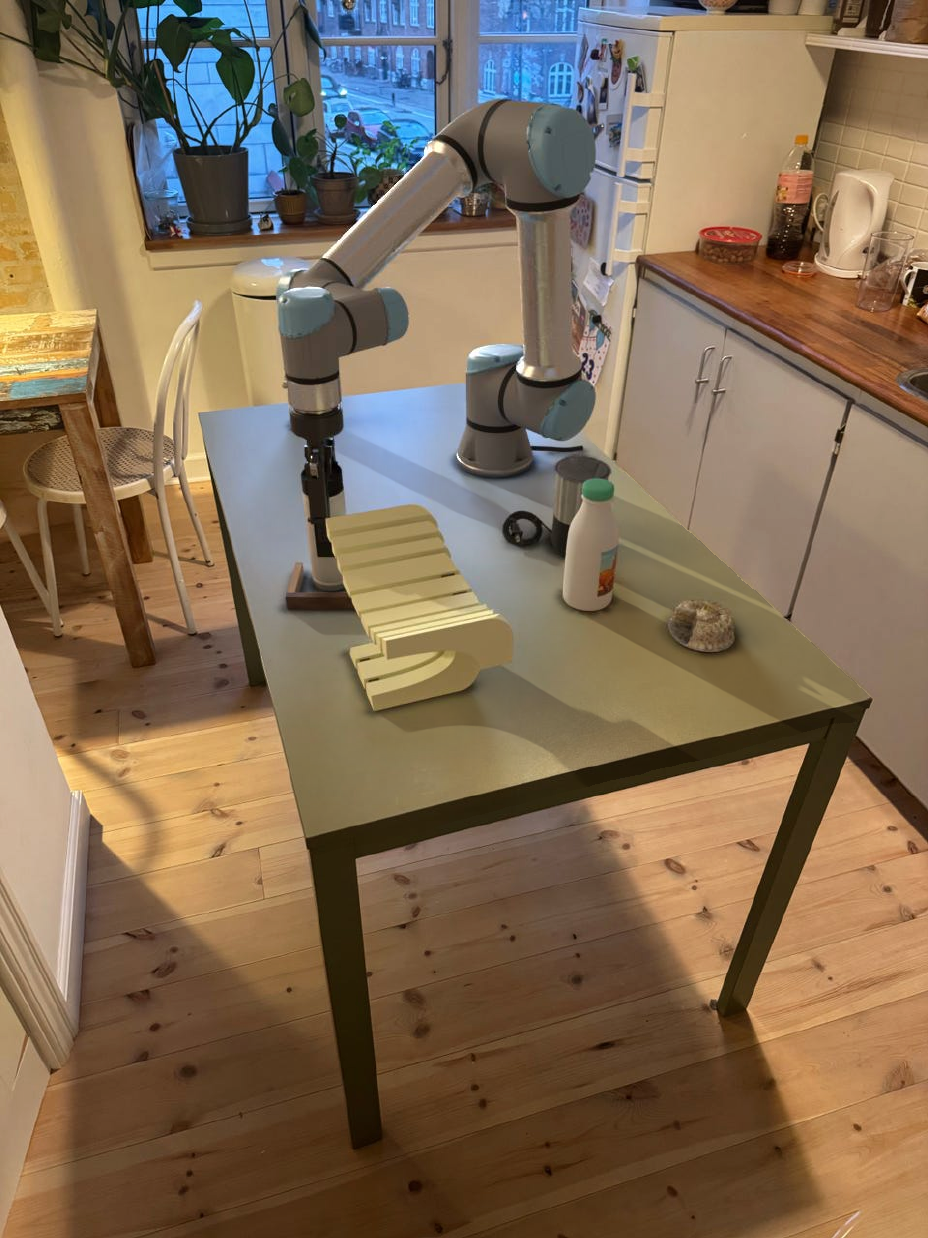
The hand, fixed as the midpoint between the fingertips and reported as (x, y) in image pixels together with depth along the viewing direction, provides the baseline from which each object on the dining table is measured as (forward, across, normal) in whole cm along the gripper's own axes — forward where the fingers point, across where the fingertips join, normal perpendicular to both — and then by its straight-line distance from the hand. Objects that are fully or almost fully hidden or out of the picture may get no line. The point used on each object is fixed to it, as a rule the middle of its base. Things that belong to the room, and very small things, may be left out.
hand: (329, 544), depth 138 cm
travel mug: (+7, 0, 0) cm, 7 cm away
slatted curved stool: (+7, +22, +14) cm, 28 cm away
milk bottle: (+7, +5, +41) cm, 41 cm away
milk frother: (+7, -12, +36) cm, 39 cm away
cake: (+7, +14, +57) cm, 59 cm away
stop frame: (+7, +3, 0) cm, 8 cm away
